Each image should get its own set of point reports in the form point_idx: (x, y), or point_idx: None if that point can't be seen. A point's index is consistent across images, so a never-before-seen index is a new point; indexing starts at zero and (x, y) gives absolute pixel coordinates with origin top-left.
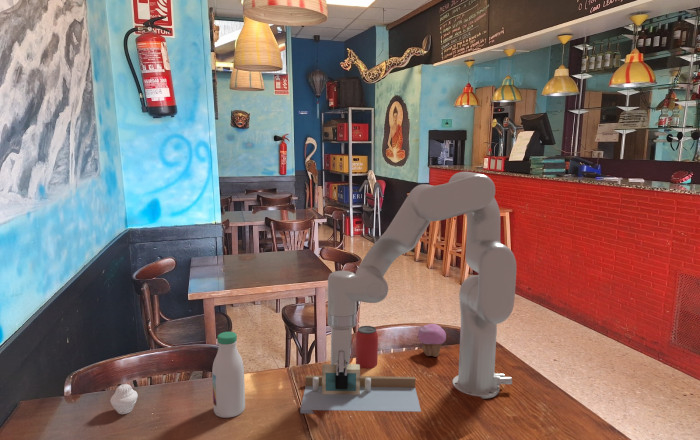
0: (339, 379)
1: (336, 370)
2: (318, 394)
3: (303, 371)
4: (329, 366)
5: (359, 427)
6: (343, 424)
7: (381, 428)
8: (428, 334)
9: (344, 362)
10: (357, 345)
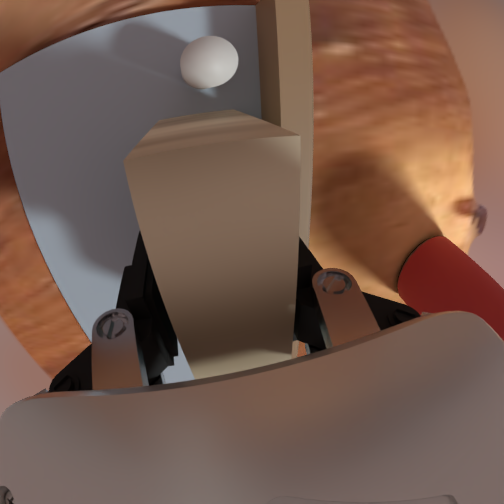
0: (120, 307)
1: (93, 358)
2: (152, 99)
3: (421, 21)
4: (229, 242)
5: (23, 316)
6: (7, 271)
7: (53, 360)
8: None
9: (317, 346)
10: (482, 302)
